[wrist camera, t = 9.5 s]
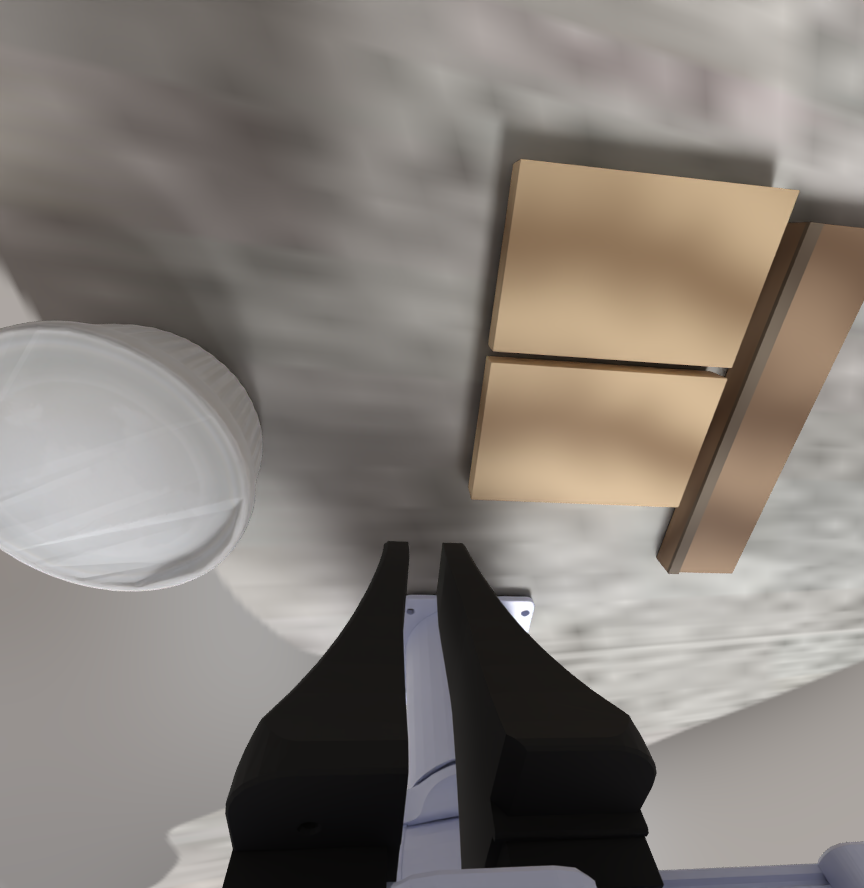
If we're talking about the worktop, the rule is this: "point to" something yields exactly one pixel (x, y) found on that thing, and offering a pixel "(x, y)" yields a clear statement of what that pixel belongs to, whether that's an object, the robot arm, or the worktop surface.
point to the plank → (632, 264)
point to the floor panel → (768, 394)
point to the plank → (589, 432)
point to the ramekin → (121, 454)
